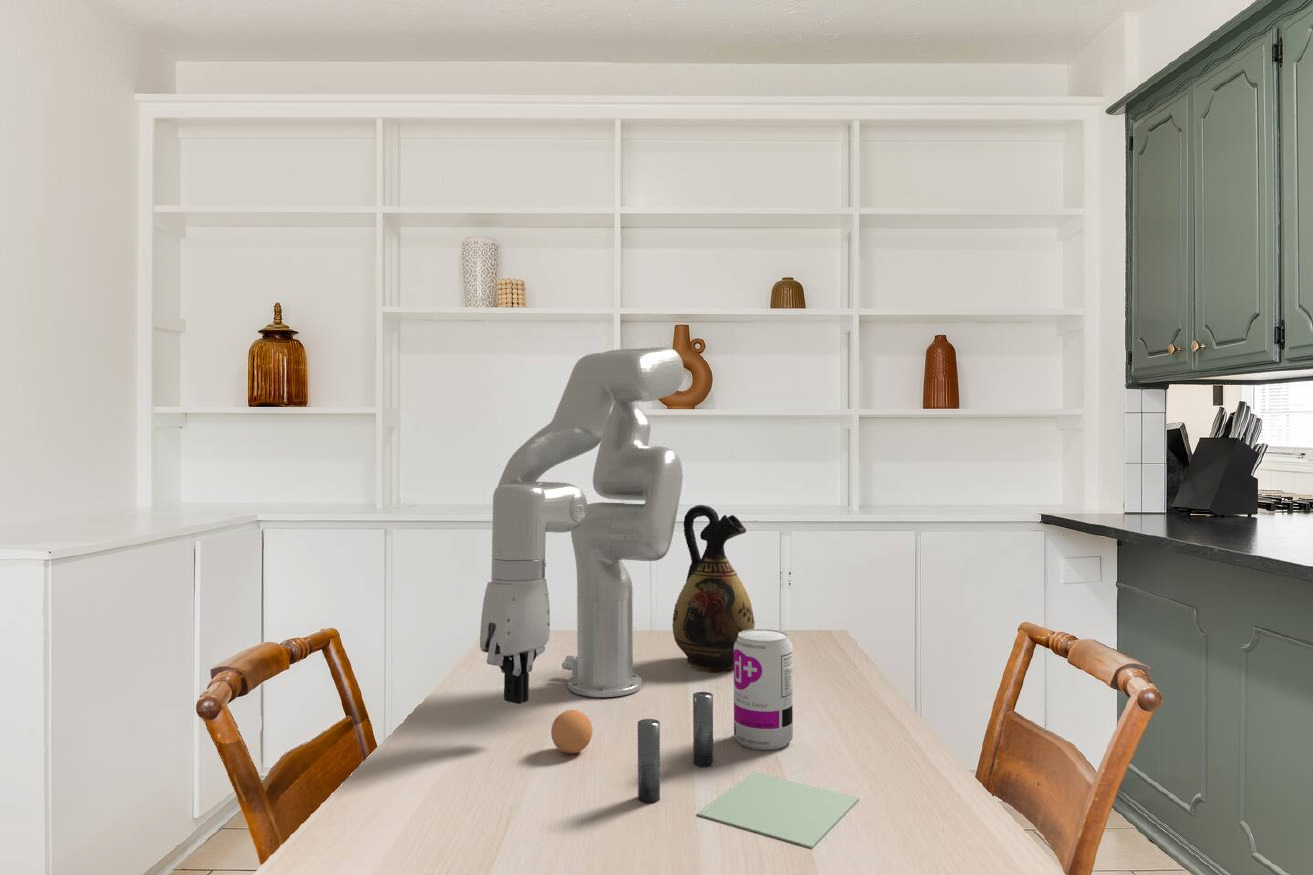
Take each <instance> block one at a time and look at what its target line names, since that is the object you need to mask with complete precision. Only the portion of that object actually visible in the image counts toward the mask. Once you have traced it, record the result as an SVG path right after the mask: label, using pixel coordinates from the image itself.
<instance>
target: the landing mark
mask: <svg viewBox="0 0 1313 875" xmlns="http://www.w3.org/2000/svg"><path fill="white" fill-rule="evenodd" d="M858 801H860V797H857V796H854V795H851V794H850V795H849V794H846V793H841V792H838V791H835V790H834V791H833V790H829V789H825V788H821V787H816V786H813V785H808V784H805V783H801V782H797V781H792V780H788V779H784V778H780V777H776V776H772V775H767V774H763V773H760V772H756V771H752V772H751V773H750V774H748V775H747V776H745V777H744V778H743V779H741V780H740V781H738V782H737V783H736V784H735V785H733V786H732V787H730V788H729V789H728V790H727V791H725V792H723V793H722V794H721V795H720V796H718V797H717V798H716V799H714V800H713V801H712V802H710V803H709V804H708V805H706V806H705V807H703V808H702V809H701V810H699V811H697V813H696V816H700V817H702V818H706V819H709V820H712V821H716V822H720V823H723V824H726V825H730V826H733V827H737V828H740V829H744V830H747V831H751V832H754V833H758V834H762V835H764V836H767V837H772V838H775V839H779V840H782V841H786V842H789V843H792V844H796V845H800V846H802V847H806V848H810V849H813V848H814V847H815V846H816V845H817V844H818V843H819V842H820V841H821V840H822V839H823V838H824V837H825V836H826V835H827V834H828V833H829V832H830V831H831V829H832V828H834V827H835V825H836V824H838V822H840V820H841V819H842V818H843V817H844V816H845V815H846V814H847V813H848V812H849V811H850V810H851V809H852V808H853V807H854V806H855V804H857V803H858Z"/></svg>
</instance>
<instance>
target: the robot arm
mask: <svg viewBox="0 0 1313 875" xmlns="http://www.w3.org/2000/svg"><path fill="white" fill-rule="evenodd" d="M682 359H683V358H682V357H681V356H680V354H679V352H677V351H676V350H675V349H674V348H671V347H668V346H667V347H666V346H665V347H661V346H660V347H645V348H644V347H643V348H621V349H620V348H619V349H612V350H607V351H604V352H596V353H595V352H594V353H590V354H587V355H586V354H585V355H584V356H582V357H581V358H579V359H578V360H577V362H576V363H575V365H574V366H573V368H572V371H571V374H570V375H569V379H568V381H567V384H566V386H565V388H564V391H563V392H562V396H561V398H560V401H559V403H558V406H557V408H556V411H555V413H554V416H553V418H552V420H551V421H550V423H548V424H546V425H545V426H544V427H542V428H541V429H540V430H538V431H537V432H536V433H535V434H533V436H531V437H530V438H529V439H528V440H527V441H526V442H524V443H523V444H522V445H521V446H519V448H518V449H517V450H516V451H514V452H513V454H512V456H511V457H510V458H509V460H508V462H507V464H506V465H505V467H504V470H503V472H502V474H501V476H500V479H499V481H498V485H497V486H496V488H495V490H494V491H493V496H492V530H491V531H492V535H491V541H492V542H491V581H488V582H487V583H486V589H485V592H484V597H483V601H482V602H483V603H482V611H481V619H480V631H479V632H480V633H479V634H480V635H479V646H480V647H479V648H480V651H481V652H483V653H487V658H486V664H487V665H491V666H498V667H499V668H500V672H501V673H502V674H504V678H503V679H504V680H503V682H504V683H503V684H504V685H503V691H504V692H503V699H504V701H505V702H509V703H513V704H517V705H520V704H523V703H526V702H529V695H530V694H529V688H530V687H529V686H530V685H529V684H530V682H529V681H530V680H529V679H530V673H531V672H532V671H533V666H534V661H535V660H536V658H537V657H539V656H540V655H542V654H544V653H545V650H546V645H547V644H548V642H549V641H550V640H549V639H550V632H551V631H550V629H551V626H550V625H551V616H550V614H551V613H550V599H549V590H548V584H547V583H548V582H547V578H546V567H547V563H546V538H547V537H546V534H547V533H569V532H570V535H571V536H570V537H571V542H572V547H573V552H574V558H575V559H574V560H575V565H576V566H575V567H576V569H575V570H576V589H577V590H576V593H577V596H576V622H577V623H576V625H577V626H576V628H577V630H576V638H577V639H576V642H577V643H576V644H577V645H576V646H577V648H576V652H577V653H576V654H577V656H575V655H570V654H569V655H567V656H566V657H565V659H564V661H563V662H562V663H561V668H562V669H563V670H567V671H571V672H572V677H571V678H569V679H568V682H567V683H568V686H567V687H568V690H570V691H571V692H572V693H574V694H576V695H579V696H583V697H589V698H615V697H622V696H626V695H630V694H633V693H636V692H637V691H640V689H641V688H642V687H643V682H642V678H641V676H639V675H638V674H635V673H634V667H633V666H634V658H633V657H634V653H633V652H634V650H633V649H634V648H633V646H634V640H633V638H634V635H633V634H634V633H633V632H634V631H633V629H634V627H633V623H634V621H633V620H634V619H633V618H634V617H633V616H634V615H633V611H634V610H633V608H634V607H633V604H634V603H633V595H634V594H633V592H634V589H633V582H632V579H631V576H630V574H629V571H628V570H627V568H626V565H624V563H623V562H622V561H636V562H637V561H640V562H657V561H660V560H661V559H664V558H665V556H666V555H667V554H668V552H669V549H670V547H671V544H672V541H673V540H672V539H673V536H674V530H675V525H676V520H677V516H678V509H679V505H680V500H681V499H680V498H681V493H682V487H683V478H684V477H683V465H682V461H681V459H680V456H679V455H678V453H677V452H676V451H675V450H674V449H671V448H669V447H666V446H665V447H663V446H649V441H650V437H651V436H650V435H651V430H652V429H651V424H650V423H651V422H650V420H649V418H648V417H647V414H646V413H645V411H644V410H643V409H642V408H641V407H640V405H639V404H638V403H643V402H644V403H645V402H646V403H647V402H652V401H655V400H660V399H663V398H666V397H670V396H673V395H674V394H675V393H676V392H677V391H678V390H679V389H680V388H681V385H682V383H683V381H684V380H683V379H684V377H685V376H684V375H685V367H684V362H683V360H682ZM598 446H599V447H598ZM596 447H598V450H597V455H596V456H597V457H596V461H595V464H594V469H593V474H592V487H593V490H594V491H595V492H596V494H597V495H599V496H600V497H602V498H604V499H608V500H609V499H610V500H618V501H638V502H639V501H641V502H643V501H644V503H625V502H592V503H588V501H587V497H586V495H585V494H584V492H583V491H582V489H580V488H579V487H578V486H576V485H575V484H572V483H567V482H558V481H557V482H553V481H550V482H549V481H548V482H547V481H538V480H539V478H541V476H542V475H544V474H545V473H546V472H547V471H548V470H550V469H552V468H554V467H555V466H557V465H559V464H561V463H565V462H566V461H569V460H572V459H576V458H577V457H579V456H581V455H584V454H586V453H588V452H590V451H592V450H594V449H596Z"/></svg>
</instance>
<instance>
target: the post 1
mask: <svg viewBox="0 0 1313 875" xmlns="http://www.w3.org/2000/svg"><path fill="white" fill-rule="evenodd" d="M660 725H661V724H660V721H659V720H657V719H654V718H644V719H643V718H642V719H640V720H639V721H638V722H637V800H638V801H639V802H640V803H644V804H655V803H657V802H659V801H660V799H661V794H660V793H661V786H660V784H661V783H660V782H661V774H660V773H661V768H660V767H661V765H660V764H661V756H660V754H661V748H660V743H661V742H660V739H661V738H660V737H661V736H660V735H661V734H660V732H661V731H660V730H661V729H660V728H661V727H660Z"/></svg>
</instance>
